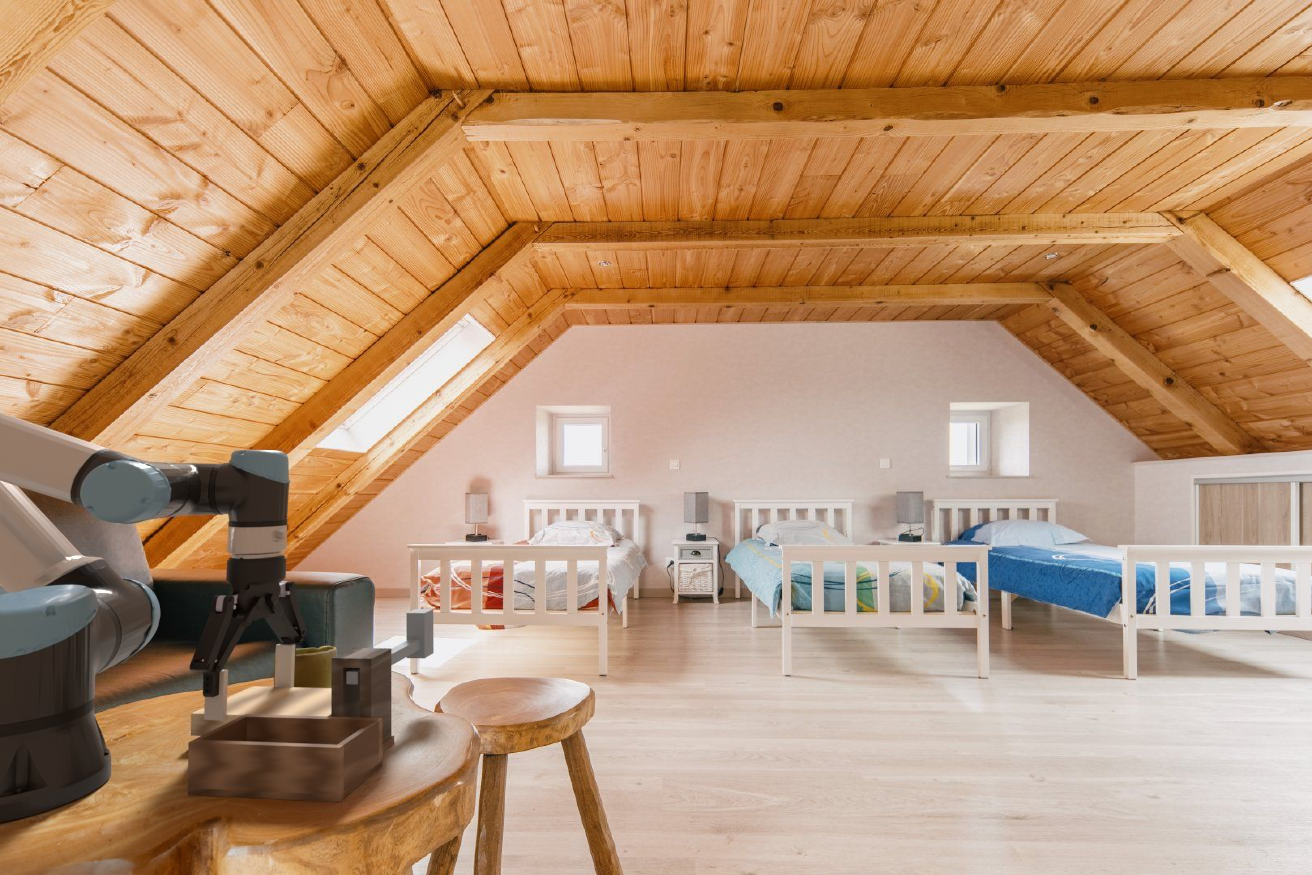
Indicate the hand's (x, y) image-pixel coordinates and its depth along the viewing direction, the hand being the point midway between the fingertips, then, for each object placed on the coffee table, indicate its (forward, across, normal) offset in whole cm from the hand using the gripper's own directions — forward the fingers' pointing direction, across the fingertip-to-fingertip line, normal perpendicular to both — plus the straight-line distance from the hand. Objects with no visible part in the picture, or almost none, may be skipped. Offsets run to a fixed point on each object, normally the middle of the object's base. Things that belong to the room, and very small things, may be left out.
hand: (252, 702), depth 96 cm
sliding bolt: (-4, +3, -20) cm, 21 cm away
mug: (+4, +15, +1) cm, 16 cm away
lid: (+3, 0, -5) cm, 6 cm away
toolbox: (+4, -10, -16) cm, 19 cm away
